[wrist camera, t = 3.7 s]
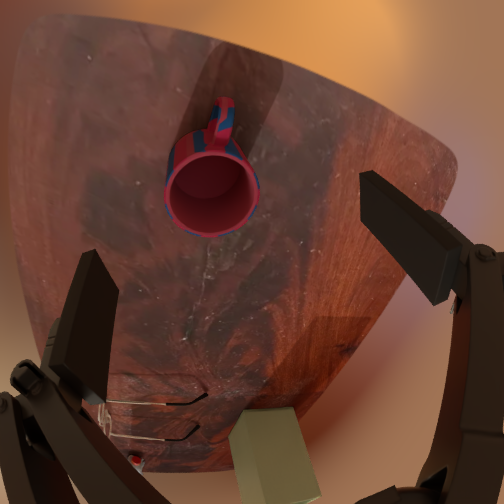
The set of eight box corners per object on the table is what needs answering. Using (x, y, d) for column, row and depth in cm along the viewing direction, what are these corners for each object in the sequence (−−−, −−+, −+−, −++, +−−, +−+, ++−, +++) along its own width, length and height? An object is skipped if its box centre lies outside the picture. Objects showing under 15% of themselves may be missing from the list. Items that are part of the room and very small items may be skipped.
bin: (243, 409, 54) (266, 507, 37) (292, 406, 57) (322, 496, 41) (228, 436, 60) (245, 518, 44) (271, 433, 63) (293, 510, 47)
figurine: (146, 464, 65) (130, 465, 64) (140, 448, 62) (123, 450, 61) (149, 479, 61) (132, 480, 59) (143, 464, 58) (125, 465, 57)
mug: (160, 190, 28) (155, 228, 22) (190, 83, 23) (192, 90, 17) (230, 205, 30) (242, 244, 24) (266, 105, 25) (290, 120, 20)
